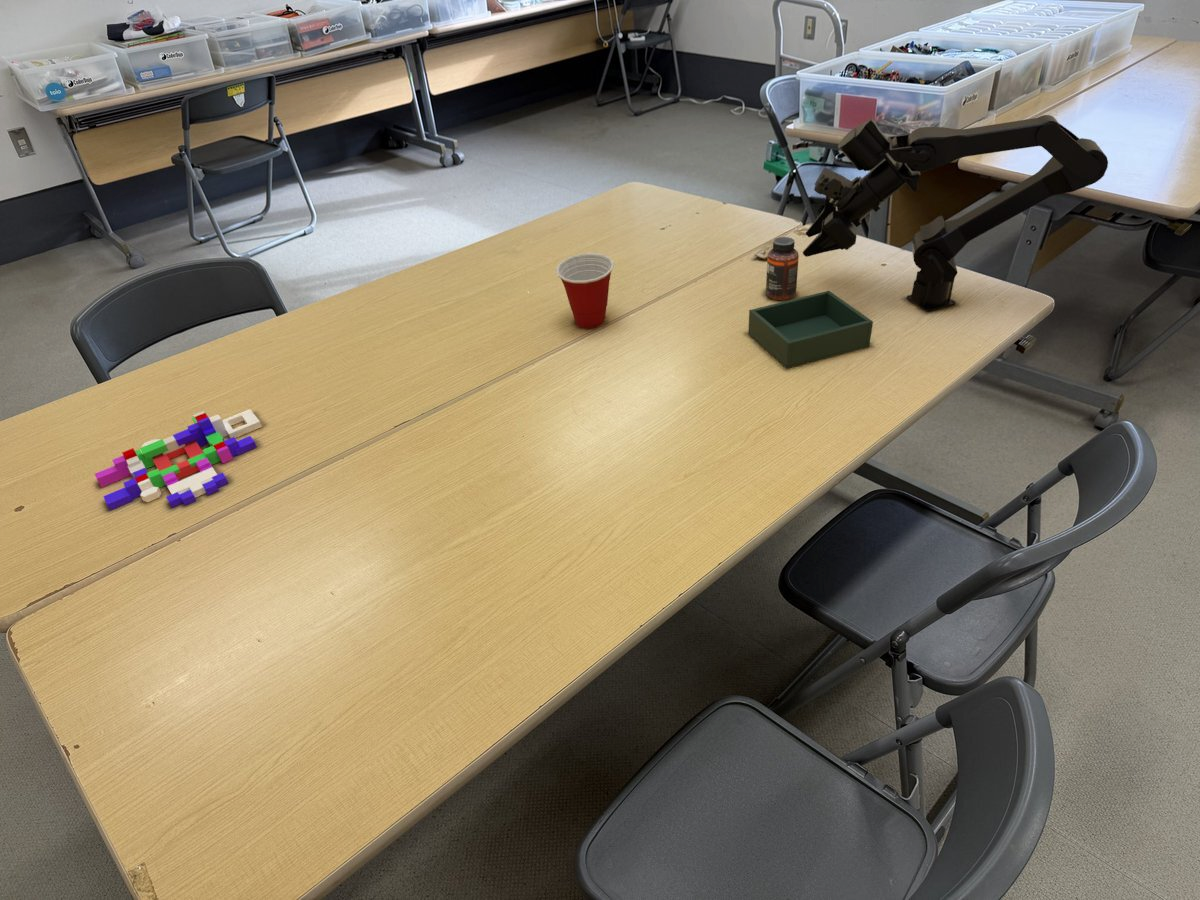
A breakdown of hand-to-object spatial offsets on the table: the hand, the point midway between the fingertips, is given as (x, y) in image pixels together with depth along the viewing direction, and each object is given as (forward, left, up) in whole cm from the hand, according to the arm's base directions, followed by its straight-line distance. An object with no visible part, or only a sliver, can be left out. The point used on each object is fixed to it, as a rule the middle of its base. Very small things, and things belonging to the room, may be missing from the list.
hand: (805, 244), depth 149 cm
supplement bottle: (+3, -2, -11) cm, 12 cm away
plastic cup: (+41, -9, -11) cm, 44 cm away
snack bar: (-5, -21, -11) cm, 24 cm away
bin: (+8, +16, -11) cm, 21 cm away
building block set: (+114, +6, -11) cm, 115 cm away
